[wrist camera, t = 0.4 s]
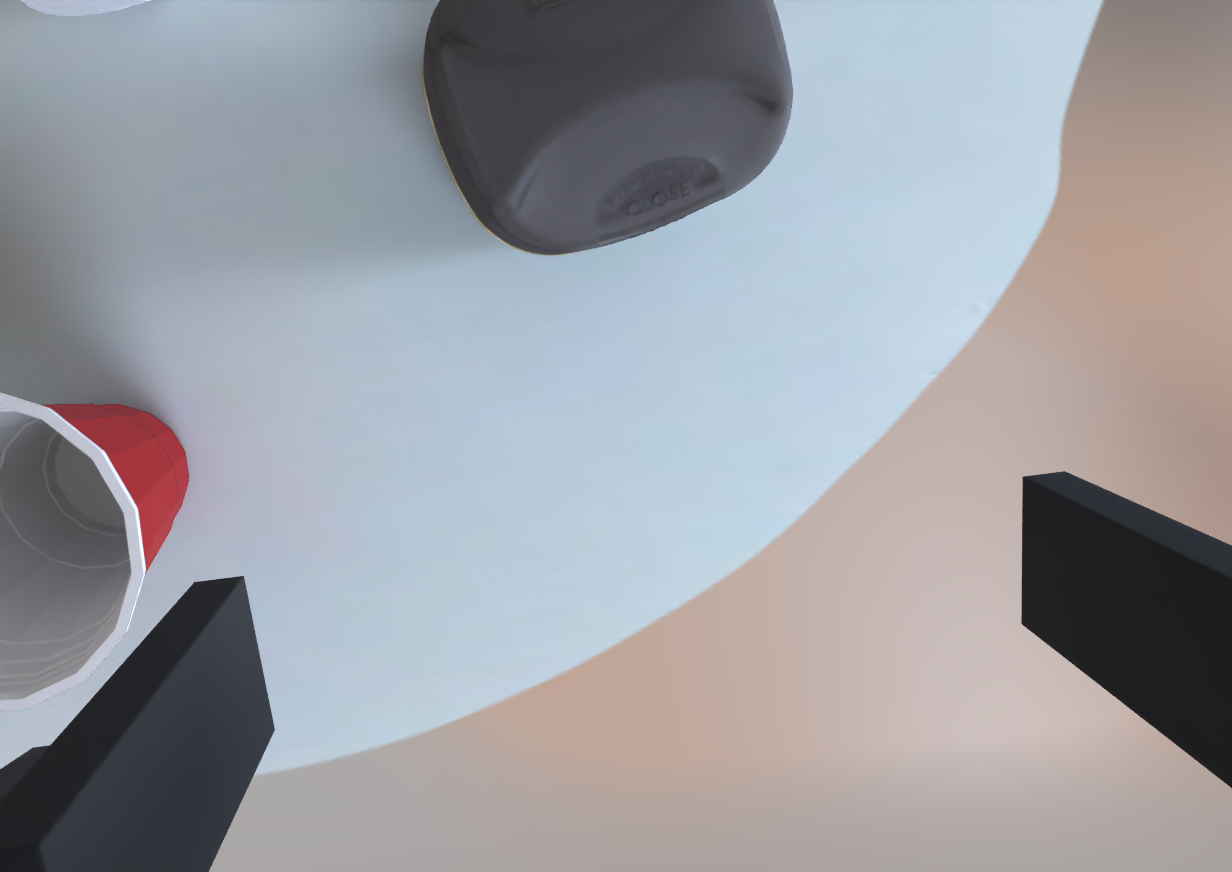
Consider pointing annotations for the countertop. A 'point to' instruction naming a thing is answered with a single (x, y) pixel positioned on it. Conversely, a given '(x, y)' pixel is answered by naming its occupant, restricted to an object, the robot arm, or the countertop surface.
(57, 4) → the toilet paper
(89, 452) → the plastic cup
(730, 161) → the coffee jar
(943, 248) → the countertop surface
